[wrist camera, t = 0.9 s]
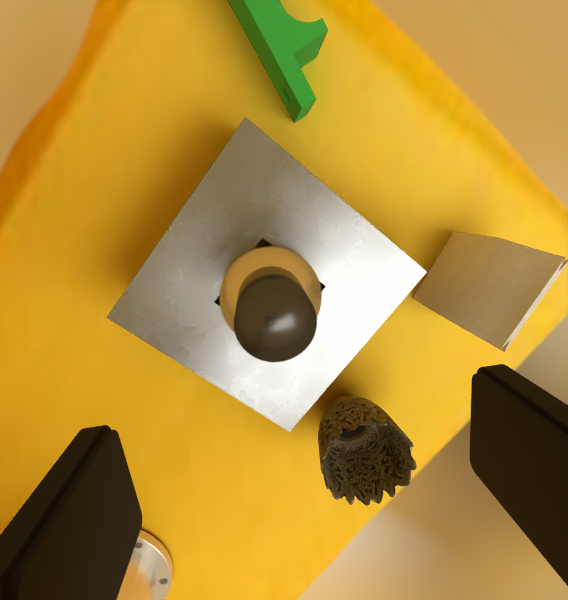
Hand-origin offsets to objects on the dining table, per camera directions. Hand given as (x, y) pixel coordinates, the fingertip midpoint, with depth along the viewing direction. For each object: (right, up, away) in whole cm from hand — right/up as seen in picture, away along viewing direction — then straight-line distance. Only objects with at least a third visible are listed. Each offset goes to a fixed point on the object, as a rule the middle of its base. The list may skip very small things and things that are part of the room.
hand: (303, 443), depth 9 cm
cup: (+5, -7, +26) cm, 27 cm away
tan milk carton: (+14, +6, +23) cm, 28 cm away
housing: (-2, +6, +21) cm, 22 cm away
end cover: (-2, +5, +20) cm, 21 cm away
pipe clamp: (-1, +23, +17) cm, 29 cm away
